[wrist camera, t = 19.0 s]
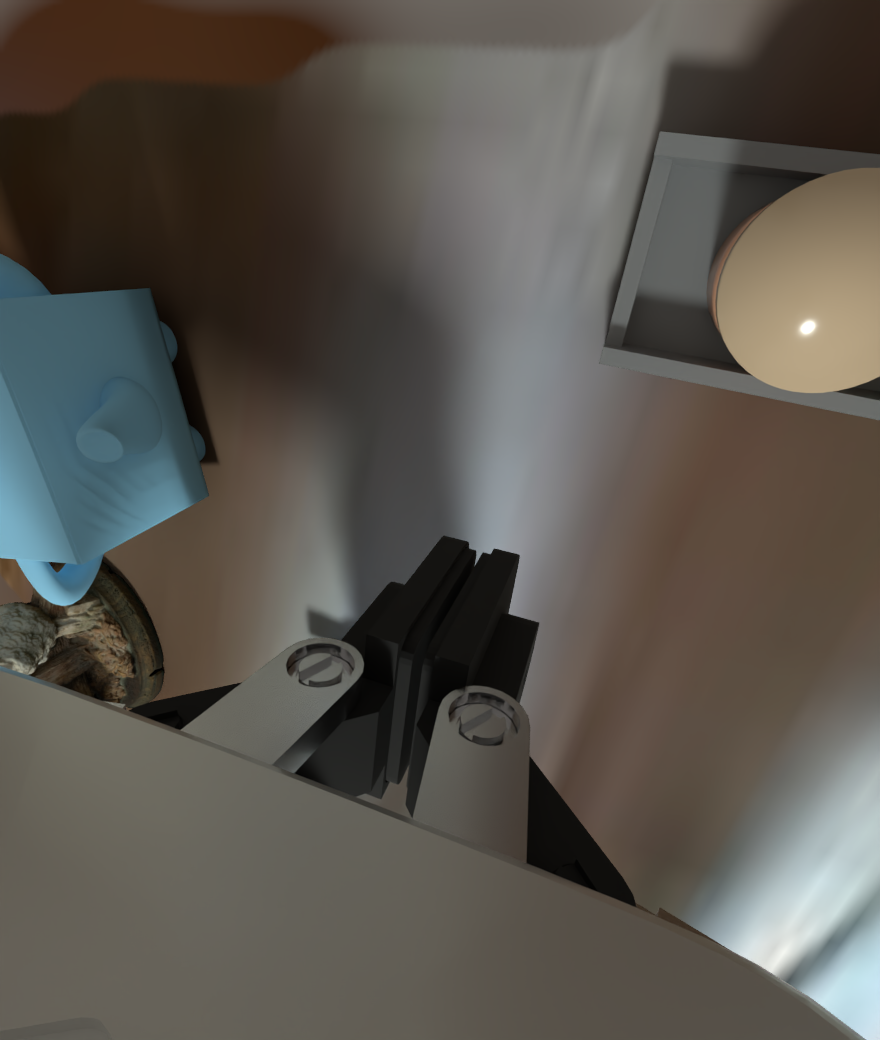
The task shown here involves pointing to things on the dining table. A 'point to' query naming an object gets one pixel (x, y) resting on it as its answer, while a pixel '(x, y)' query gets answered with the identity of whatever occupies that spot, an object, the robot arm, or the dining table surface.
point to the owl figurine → (86, 642)
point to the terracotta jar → (804, 286)
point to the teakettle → (86, 429)
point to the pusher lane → (709, 260)
